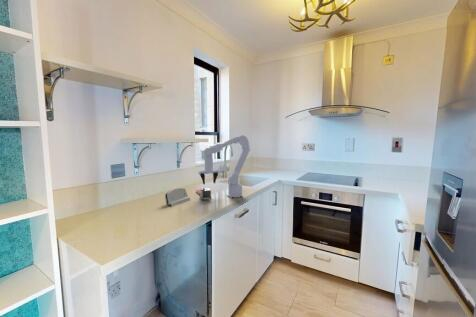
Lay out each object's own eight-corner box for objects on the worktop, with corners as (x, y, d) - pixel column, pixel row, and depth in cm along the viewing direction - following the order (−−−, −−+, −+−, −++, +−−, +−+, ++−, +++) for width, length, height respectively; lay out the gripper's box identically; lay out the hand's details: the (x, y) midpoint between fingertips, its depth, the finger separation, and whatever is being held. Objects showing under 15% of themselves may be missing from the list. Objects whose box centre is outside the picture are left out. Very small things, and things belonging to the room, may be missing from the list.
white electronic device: (171, 206, 129) (167, 190, 130) (166, 207, 132) (162, 192, 132) (190, 199, 144) (186, 185, 144) (185, 201, 146) (181, 187, 147)
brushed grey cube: (208, 194, 149) (208, 187, 148) (210, 197, 144) (210, 190, 143) (200, 195, 147) (200, 188, 146) (202, 198, 142) (202, 190, 141)
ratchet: (203, 191, 167) (203, 185, 166) (212, 199, 144) (212, 192, 143) (193, 192, 163) (193, 186, 163) (201, 201, 141) (201, 194, 140)
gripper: (216, 163, 156) (217, 181, 157) (197, 164, 150) (197, 183, 151) (220, 164, 150) (220, 183, 151) (199, 165, 144) (200, 185, 145)
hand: (209, 183), depth 151 cm, fingers open, 7 cm apart
